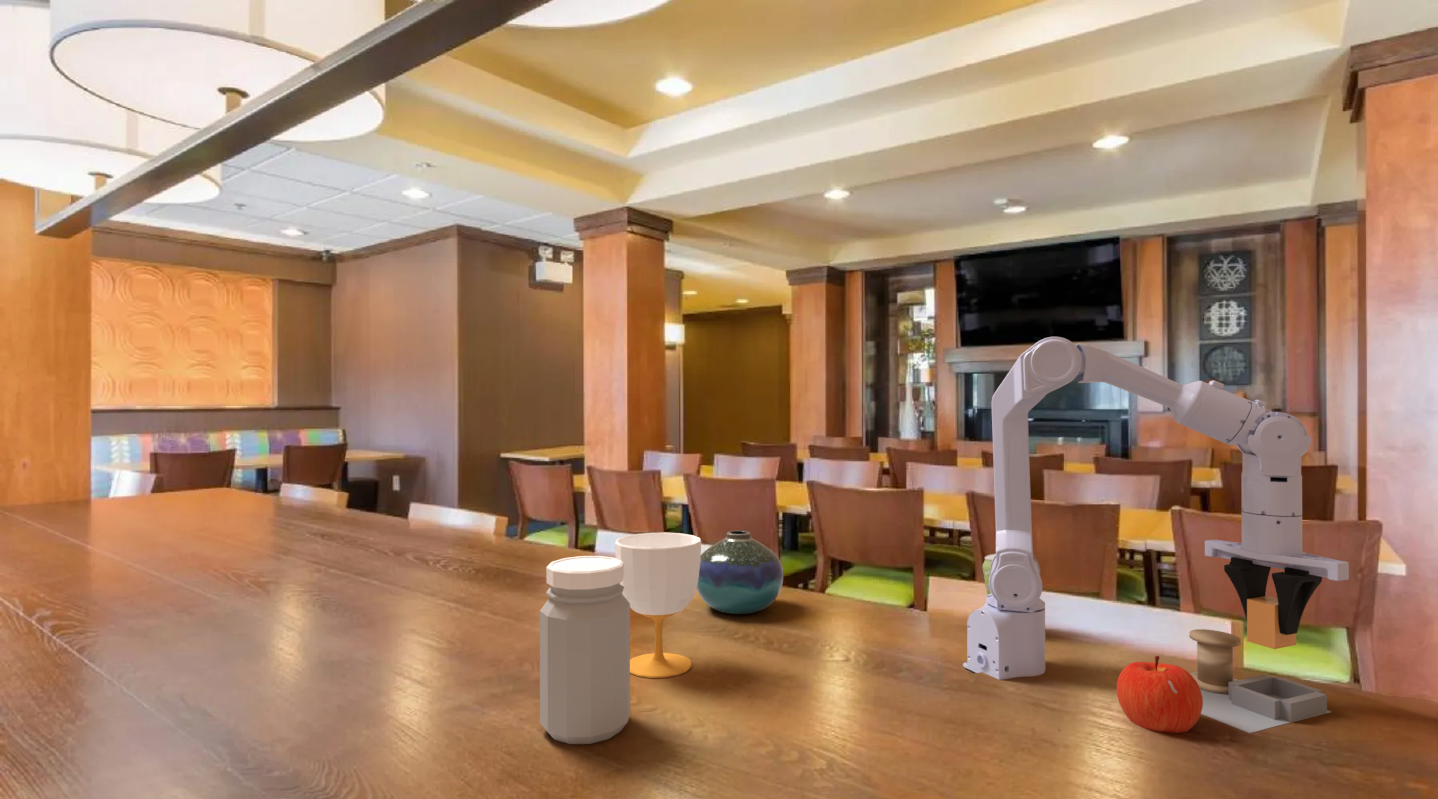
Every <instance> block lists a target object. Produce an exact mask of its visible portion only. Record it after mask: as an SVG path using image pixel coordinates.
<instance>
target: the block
mask: <svg viewBox="0 0 1438 799" xmlns="http://www.w3.org/2000/svg"><path fill="white" fill-rule="evenodd" d="M1246 641H1247V642H1249V643H1251V644H1254V645H1258V646H1262V647H1266V648H1270V649H1272V650H1277V649H1283V648H1287V647H1292V646H1297V633H1295V634H1290V635H1285V634H1281V633H1280V629H1279V607H1278V599H1277V596H1271V595H1265V596H1264V597H1258V598H1251V599H1247V620H1246Z"/></svg>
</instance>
